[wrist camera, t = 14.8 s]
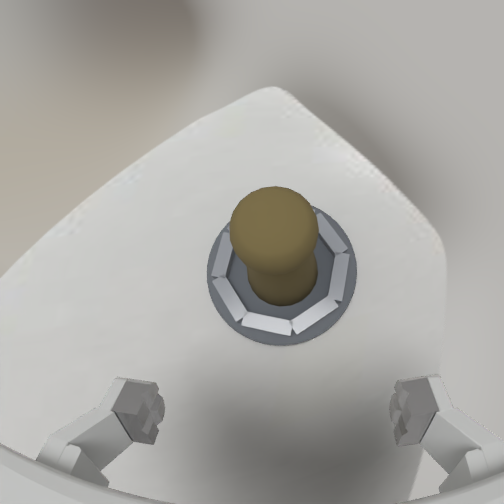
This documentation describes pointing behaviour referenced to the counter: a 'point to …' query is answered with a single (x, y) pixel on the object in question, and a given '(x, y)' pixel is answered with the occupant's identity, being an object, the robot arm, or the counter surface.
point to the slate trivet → (285, 317)
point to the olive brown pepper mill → (276, 244)
